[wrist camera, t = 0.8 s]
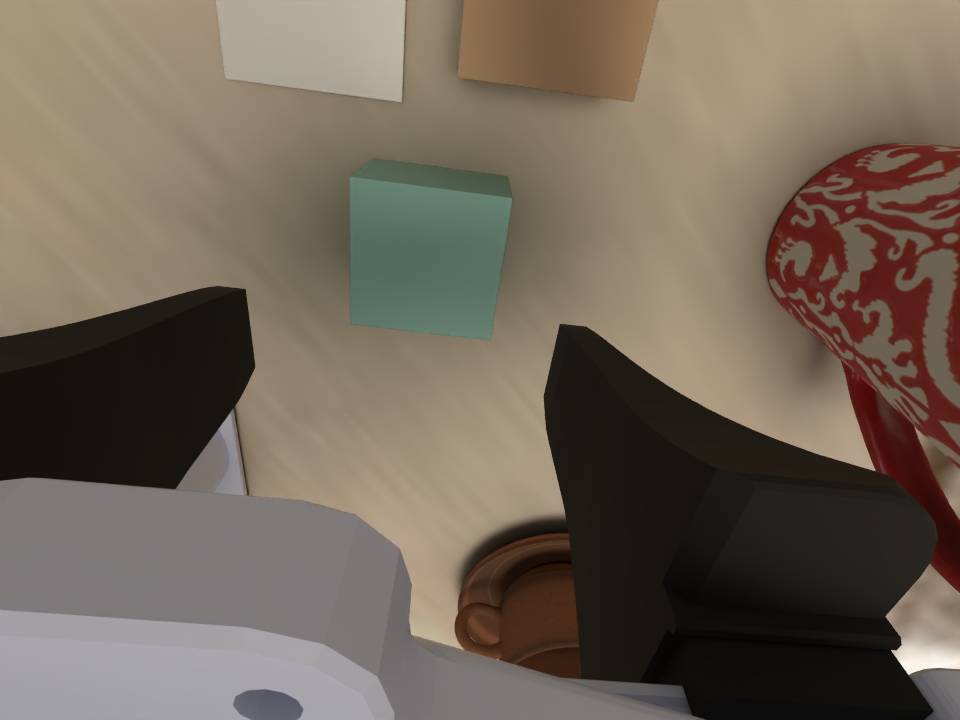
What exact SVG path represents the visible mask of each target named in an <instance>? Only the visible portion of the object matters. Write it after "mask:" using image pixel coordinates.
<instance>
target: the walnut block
mask: <svg viewBox="0 0 960 720" xmlns="http://www.w3.org/2000/svg"><path fill="white" fill-rule="evenodd" d="M658 1H659V0H464V3H463V15H462V27H461V38H460V50H459V62H458V73H457V77H459V78H466V79H473V80H480V81H487V82H494V83H502V84H509V85H516V86H523V87H530V88H537V89H544V90H551V91H559V92H566V93H573V94H580V95H587V96H594V97H601V98H609V99H616V100H623V101H630V102H634V98H635V94H636V90H637V86H638V82H639V78H640V74H641V70H642V66H643V62H644V58H645V53H646V49H647V45H648V41H649V37H650V33H651V29H652V25H653V21H654V17H655V13H656V9H657V5H658Z"/></svg>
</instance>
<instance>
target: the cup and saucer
mask: <svg viewBox="0 0 960 720" xmlns="http://www.w3.org/2000/svg"><path fill="white" fill-rule="evenodd" d="M455 634H456V637H457V640H458V642H459V643H460V645H461V646H462V647H463V649H464V650H466V651H469V652H472V653H476V654H479V655H483V656H486V657H490V658H493V659H499V660H500V661H504V662H507V663H511V664H514V665H518V666H521V667H525V668H528V669H531V670H535V671H538V672H542V673H545V674H549V675H552V676H556V677H559V678H572V679H581V666H580V651H579V638H578V625H577V612H576V601H575V590H574V580H573V570H572V560H571V551H570V543H569V534H568V533H551V534H543V535H537V536H533V537H528V538H525V539H522V540H519V541H516V542H513V543H511V544H508V545H506V546H504V547H502V548H500V549H499V550H497V551H495V552H494V553H492V554H490V555H489V556H487V557H486V558H485V559H483V560H482V561H481V562H480V563H479V564H478V565H476V566H475V568H474V569H473V570H472V571H471V572H470V573H469V575H468V576H467V578H466V580H465V582H464V583H463V586H462V589H461V592H460V595H459V600H458V615H457V617H456V620H455ZM470 637H471V638H472V639H473V640H474V641H473V640H472V639H471V638H470Z"/></svg>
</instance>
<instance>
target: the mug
mask: <svg viewBox="0 0 960 720" xmlns="http://www.w3.org/2000/svg"><path fill="white" fill-rule="evenodd" d="M767 271H768V279H769V281H770V286H771V289H772V291H773V293H774V295H775V297H776V299H777V300H778V302H779V303H780V304H781V305H782V306H783V308H784V309H785V310H786V311H787V312H788V313H789V314H790V315H791V316H792V317H794V318H795V319H796V320H797V321H798V322H799V323H801V324H802V325H803V326H804V327H805V328H806V329H808V330H809V331H810V332H811V333H812V334H813V335H814V336H816V337H817V338H818V339H819V340H820V341H821V342H822V343H823V344H824V345H825V346H826V347H828V348H829V349H830V350H831V351H832V352H833V353H834V354H835V355H836V356H837V357H838V358H839V359H840V360H841V362H842V365H843V369H844V372H845V375H846V379H847V385H848V390H849V393H850V398H851V401H852V405H853V408H854V411H855V415H856V417H857V420H858V423H859V426H860V429H861V432H862V435H863V438H864V441H865V444H866V447H867V449H868V452H869V455H870V458H871V460H872V463H873V465H874V468H875V470H876V472H879V473H882V474H886V475H889V476H891V477H892V478H894V479H895V480H896V481H897V482H898V483H899V484H900V485H901V486H902V487H903V488H904V489H905V490H906V491H907V492H908V493H909V494H910V495H911V496H912V497H913V498H914V499H915V500H916V501H917V502H918V503H919V504H920V505H921V506H923V507H924V509H925V510H926V511H927V512H928V514H929V515H930V516H931V517H932V519H933V520H934V521H935V524H936V530H937V535H938V540H937V543H936V547H935V551H934V554H933V558H932V560H931V562H930V564H931V565H932V566H933V567H934V569H935V570H936V571H937V572H938V573H939V574H940V575H941V576H942V577H943V578H944V579H945V580H946V581H947V582H948V583H949V584H950V585H952V586H953V587H954V588H955V589H956V590H957V591H958V592H959V593H960V520H959V518H958V517H957V515H956V514H955V512H954V510H953V509H952V508H951V506H950V504H949V502H948V500H947V498H946V496H945V494H944V492H943V490H942V489H941V487H940V485H939V483H938V481H937V479H936V477H935V475H934V473H933V471H932V469H931V466H930V464H929V461H928V459H927V457H926V455H925V452H924V450H923V448H922V446H921V443H920V441H919V439H918V436H917V433H916V430H915V427H916V428H917V429H918V430H919V431H920V432H921V433H922V434H923V435H924V436H925V437H927V438H928V439H929V440H930V441H931V442H932V443H933V444H934V445H935V446H936V447H937V448H938V449H940V450H941V451H942V452H943V453H944V454H945V455H946V456H947V457H948V458H949V459H950V460H951V461H952V462H953V463H954V464H955V465H956V466H957V467H958V468H960V147H950V146H939V145H924V144H902V143H901V144H886V145H879V146H874V147H870V148H866V149H863V150H860V151H858V152H855V153H853V154H850V155H848V156H846V157H844V158H842V159H840V160H838V161H837V162H835V163H834V164H832V165H831V166H829V167H828V168H826V169H824V170H823V171H821V172H820V173H819V174H818V175H817V176H815V177H814V178H812V179H811V180H810V181H809V183H808V184H807V185H805V186H804V187H803V188H802V189H801V191H800V192H799V193H798V194H797V195H796V196H795V197H794V199H793V200H792V201H791V202H790V203H789V205H788V206H787V208H786V209H785V211H784V212H783V214H782V216H781V218H780V220H779V222H778V224H777V226H776V228H775V231H774V234H773V236H772V238H771V241H770V246H769V251H768V259H767ZM914 426H915V427H914Z"/></svg>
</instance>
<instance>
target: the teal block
mask: <svg viewBox="0 0 960 720" xmlns="http://www.w3.org/2000/svg"><path fill="white" fill-rule="evenodd" d="M512 199H513V198H512V194H511V190H510V186H509V182H508V178H507V176H502V175H494V174H487V173H479V172H472V171H464V170H457V169H449V168H442V167H435V166H427V165H420V164H412V163H405V162H397V161H390V160H383V159H375V158H374V159H372V160H371V161H370V162H368V163H367V164H366V165H364V166H363V167H362V168H361V169H359V170H358V171H357V172H355V173H354V174H353V175H351V176H350V324H352V325H361V326H369V327H378V328H387V329H396V330H404V331H413V332H422V333H430V334H439V335H448V336H457V337H465V338H474V339H483V340H491V334H492V327H493V321H494V315H495V308H496V302H497V295H498V289H499V282H500V276H501V270H502V263H503V257H504V250H505V244H506V237H507V231H508V225H509V218H510V212H511V205H512Z"/></svg>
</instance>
